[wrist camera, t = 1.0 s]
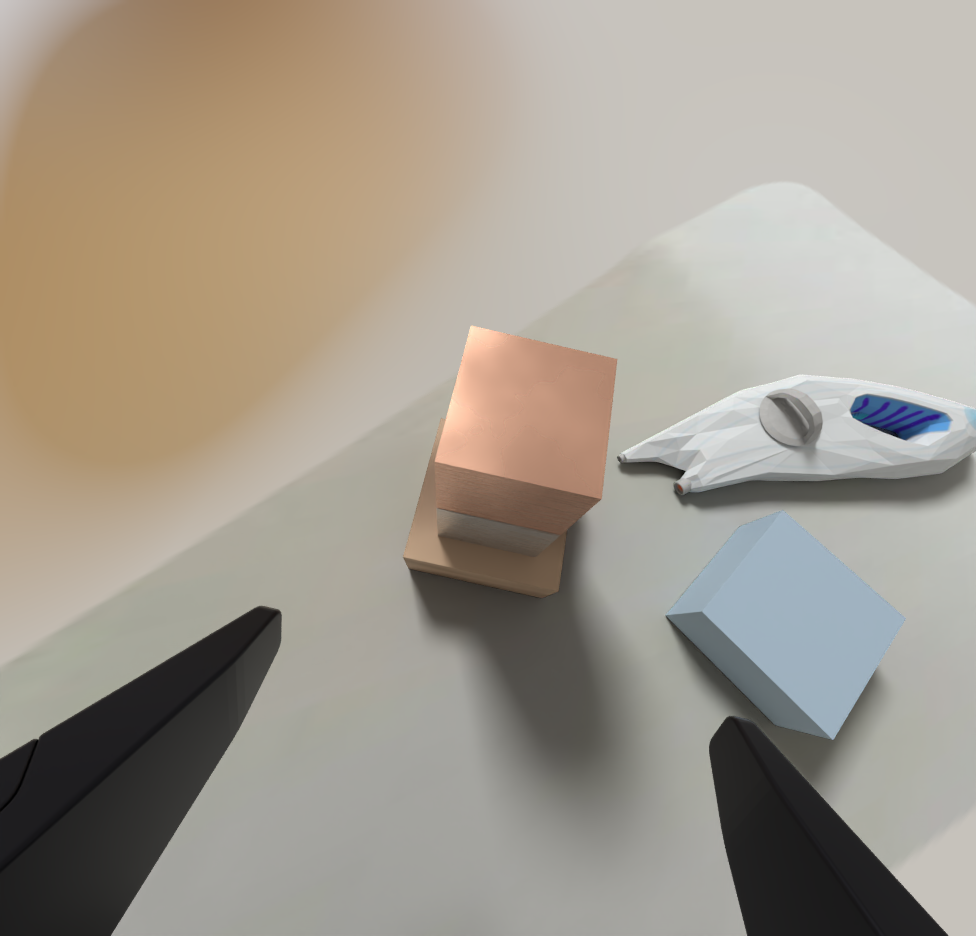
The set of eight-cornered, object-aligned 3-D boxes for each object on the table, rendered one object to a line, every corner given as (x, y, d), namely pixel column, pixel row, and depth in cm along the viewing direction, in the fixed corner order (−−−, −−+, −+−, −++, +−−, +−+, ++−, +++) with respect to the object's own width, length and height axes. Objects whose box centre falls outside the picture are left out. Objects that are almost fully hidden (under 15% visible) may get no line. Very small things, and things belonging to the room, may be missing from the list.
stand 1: (542, 598, 23) (558, 591, 20) (408, 568, 23) (403, 556, 20) (561, 473, 26) (578, 449, 22) (441, 446, 25) (440, 418, 22)
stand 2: (775, 725, 22) (833, 740, 19) (665, 615, 23) (701, 611, 20) (843, 621, 24) (906, 618, 21) (739, 526, 25) (782, 509, 22)
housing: (535, 557, 20) (601, 499, 12) (437, 535, 20) (434, 461, 12) (550, 466, 22) (617, 359, 13) (460, 446, 22) (470, 325, 13)
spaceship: (924, 387, 31) (999, 348, 27) (968, 477, 29) (1058, 451, 24) (599, 401, 28) (627, 361, 24) (620, 503, 26) (655, 478, 22)
